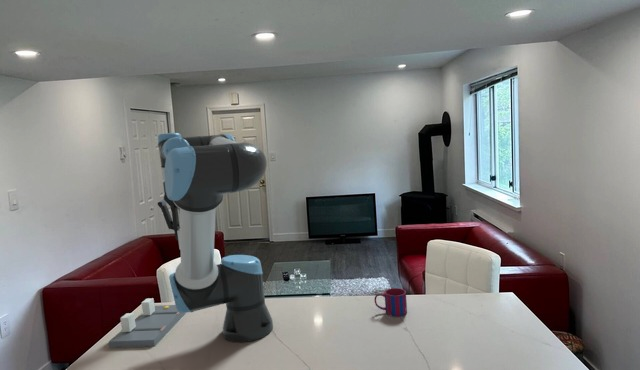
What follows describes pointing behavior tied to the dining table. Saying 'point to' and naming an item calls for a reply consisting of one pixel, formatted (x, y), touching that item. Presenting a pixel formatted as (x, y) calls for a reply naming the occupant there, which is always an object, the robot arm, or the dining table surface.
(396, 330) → the dining table surface
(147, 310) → the block
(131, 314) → the block
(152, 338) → the breaker panel
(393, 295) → the mug
